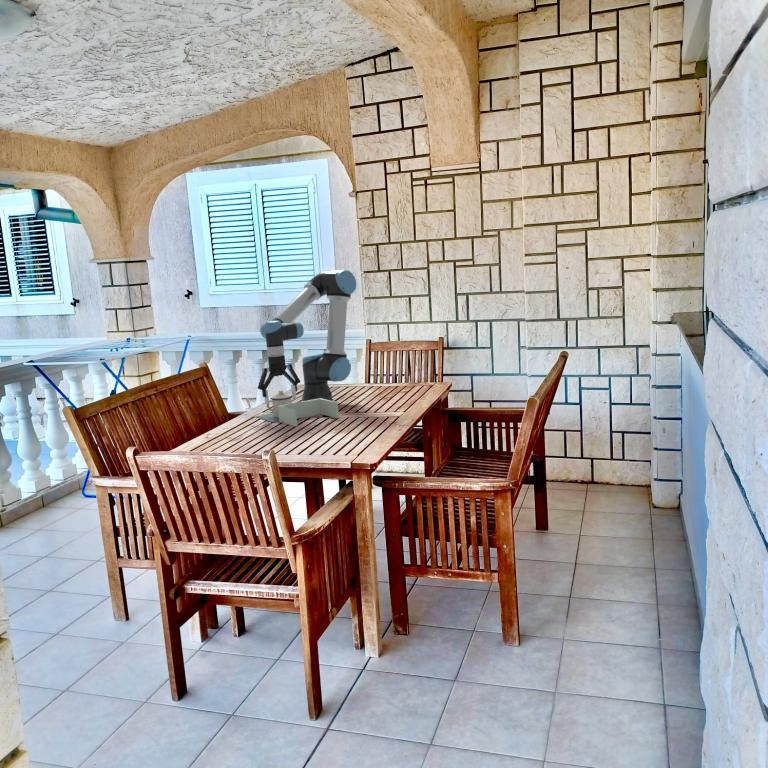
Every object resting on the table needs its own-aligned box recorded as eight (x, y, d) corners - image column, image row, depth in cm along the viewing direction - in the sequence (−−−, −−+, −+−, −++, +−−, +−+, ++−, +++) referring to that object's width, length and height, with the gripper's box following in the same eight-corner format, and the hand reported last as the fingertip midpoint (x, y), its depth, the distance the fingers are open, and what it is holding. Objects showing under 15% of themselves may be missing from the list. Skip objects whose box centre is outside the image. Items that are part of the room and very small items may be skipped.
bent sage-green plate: (321, 413, 337) (320, 398, 336) (338, 417, 324) (337, 402, 323) (279, 421, 326) (277, 405, 325) (295, 426, 313) (293, 410, 312)
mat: (291, 410, 349) (291, 409, 349) (308, 415, 334) (308, 414, 334) (255, 417, 339) (255, 416, 339) (272, 422, 324) (272, 421, 324)
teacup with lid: (296, 413, 339) (293, 388, 337) (288, 417, 330) (286, 392, 328) (271, 414, 342) (269, 389, 340) (264, 418, 333) (261, 393, 331)
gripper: (297, 351, 342) (301, 395, 345) (247, 358, 329) (252, 405, 332) (304, 352, 336) (309, 397, 339) (253, 359, 322) (259, 407, 326)
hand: (281, 401), depth 336 cm, fingers open, 13 cm apart
